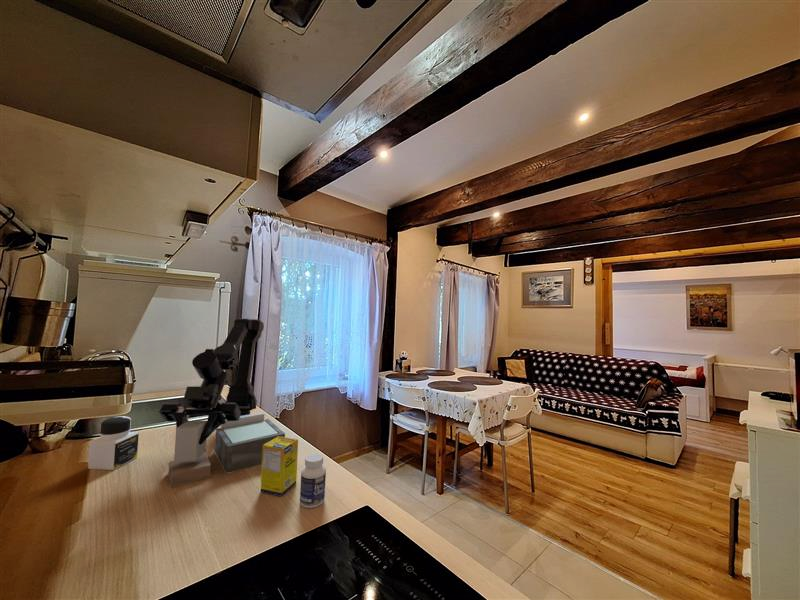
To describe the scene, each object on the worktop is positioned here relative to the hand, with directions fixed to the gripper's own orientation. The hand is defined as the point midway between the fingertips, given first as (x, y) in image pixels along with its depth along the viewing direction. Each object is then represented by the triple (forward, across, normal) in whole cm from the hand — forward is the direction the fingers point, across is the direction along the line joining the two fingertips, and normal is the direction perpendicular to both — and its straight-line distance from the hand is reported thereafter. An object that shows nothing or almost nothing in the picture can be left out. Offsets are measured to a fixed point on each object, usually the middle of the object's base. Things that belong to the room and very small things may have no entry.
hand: (188, 444), depth 78 cm
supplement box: (+10, +24, +2) cm, 26 cm away
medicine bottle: (0, -23, +12) cm, 26 cm away
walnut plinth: (+5, 0, +7) cm, 8 cm away
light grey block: (+2, 0, +4) cm, 4 cm away
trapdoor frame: (-2, +11, +14) cm, 18 cm away
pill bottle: (+15, +33, -3) cm, 36 cm away
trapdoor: (-8, +10, +11) cm, 17 cm away
